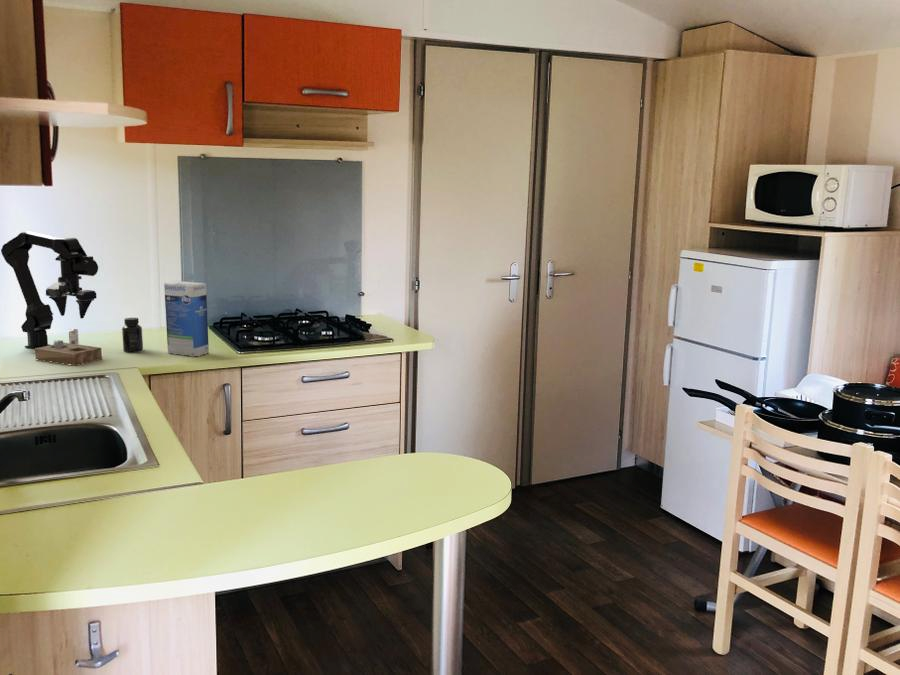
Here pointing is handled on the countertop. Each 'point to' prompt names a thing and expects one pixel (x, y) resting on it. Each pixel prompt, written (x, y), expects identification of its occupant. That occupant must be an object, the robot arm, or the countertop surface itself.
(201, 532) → the countertop surface
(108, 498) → the countertop surface
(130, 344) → the supplement bottle
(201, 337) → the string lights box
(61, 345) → the short grey peg
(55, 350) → the hole block
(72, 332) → the steel pin
